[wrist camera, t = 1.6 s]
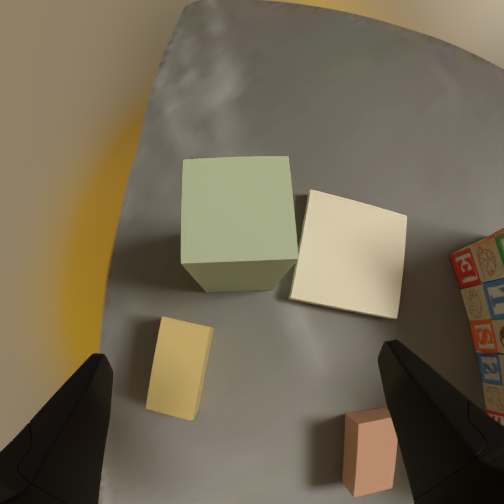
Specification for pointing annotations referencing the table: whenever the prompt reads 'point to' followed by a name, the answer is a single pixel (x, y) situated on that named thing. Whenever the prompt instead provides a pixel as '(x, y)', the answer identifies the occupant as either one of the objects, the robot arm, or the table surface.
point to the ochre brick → (179, 368)
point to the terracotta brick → (369, 451)
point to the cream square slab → (350, 256)
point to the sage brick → (238, 222)
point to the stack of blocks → (485, 312)
